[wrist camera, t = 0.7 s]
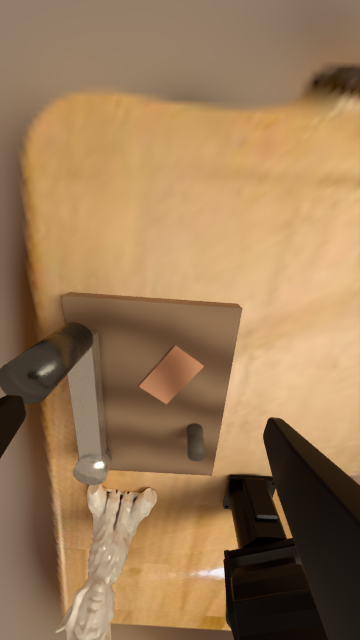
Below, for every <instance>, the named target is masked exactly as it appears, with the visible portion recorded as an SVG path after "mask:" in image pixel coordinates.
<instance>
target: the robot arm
mask: <svg viewBox="0 0 360 640" xmlns="http://www.w3.org/2000/svg"><path fill="white" fill-rule="evenodd" d="M25 416H26V411H25V406H24V401H23V397H22V396H20V395H6V396H4V397H2V398H0V458H1V456H2V455H3V453H4V452H5V450H6V448H7V447H8V445H9V444H10V442H11V440H12V439H13V437H14V436H15V434H16V432H17V431H18V429H19V428H20V426H21V424H22V423H23V421H24V419H25ZM263 440H264V444H265V448H266V452H267V456H268V460H269V464H270V468H271V472H272V476H273V478H268V477H250V476H230V477H229V478H228V483H227V487H226V492H225V496H224V501H223V507H224V508H225V509H231V511H232V516H233V521H234V526H235V532H236V537H237V542H238V548H239V549H236V550H231V551H229V550H225V551H224V557H225V559H224V571H225V587H226V621H227V624H228V626H229V627H230V628H231V630H232V633H233V636H234V640H360V485H359V484H358V483H357V482H355V481H354V480H353V479H352V478H351V477H350V476H348V475H347V474H346V473H345V472H344V471H342V470H341V469H340V468H339V467H338V466H337V465H335V464H334V463H333V462H332V461H331V460H330V459H328V458H327V457H326V456H325V455H324V454H322V453H321V452H320V451H319V450H318V449H317V448H315V447H314V446H313V445H312V444H311V443H310V442H308V441H307V440H306V439H305V438H304V437H302V436H301V435H300V434H299V433H298V432H297V431H295V430H294V429H293V428H292V427H291V426H290V425H288V424H287V423H286V422H285V421H284V420H282V419H281V418H273V417H271V418H269V419H268V421H267V424H266V427H265V430H264V434H263ZM275 489H276V490H277V493H278V496H279V499H280V502H281V505H282V508H283V511H284V514H285V517H286V519H287V522H288V525H289V528H290V531H291V534H292V537H293V538H290V539H287V537H286V535H285V532H284V529H283V526H282V523H281V521H280V518H279V515H278V512H277V510H276V507H275V504H274V501H273V499H272V497H273V494H274V492H275Z"/></svg>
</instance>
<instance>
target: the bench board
mask: <svg viewBox="0 0 360 640" xmlns="http://www.w3.org/2000/svg"><path fill="white" fill-rule="evenodd" d="M61 297H62V305H63V312H64V320H65V325H66V324H68V323H72V322H76V323H80V324H82V325H84V326H86V327H87V328H88V329H89V330H90V331H92V332H98V338H99V352H100V365H101V378H102V392H103V405H104V419H105V432H106V446H107V449H108V450H109V451H110V452H111V454H112V462H111V465H110V468H109V470H120V471H138V472H156V473H174V474H191V475H209V476H212V472H213V467H214V461H215V456H216V450H217V445H218V439H219V434H220V428H221V423H222V417H223V412H224V406H225V401H226V395H227V390H228V384H229V379H230V373H231V367H232V362H233V356H234V351H235V345H236V340H237V334H238V329H239V323H240V318H241V312H242V308H241V307H240V306H239V305H238V304H231V303H217V302H203V301H188V300H174V299H160V298H145V297H131V296H116V295H102V294H88V293H73V292H70V293H67V294H65V295H62V296H61Z"/></svg>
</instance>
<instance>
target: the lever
mask: <svg viewBox="0 0 360 640" xmlns="http://www.w3.org/2000/svg"><path fill="white" fill-rule="evenodd" d="M66 375H68V382H69V389H70V396H71V403H72V410H73V417H74V424H75V431H76V438H77V445H78V452H79V459H78V461H77V463H76V465H75V467H74V469H73V475H74V477H75V478H76V479H77V480H78V481H79V482H81V483H83V484H86V485H98V484H101V483H103V482H104V481H105V479H106V477H107V474H108V471H109V468H110V465H111V462H112V454H111V452H110V451H109V450H108V449H107V446H106V432H105V419H104V405H103V392H102V378H101V365H100V352H99V338H98V332H92V331H90V330H89V329H88V328H87V327H86V326H84V325H82V324H80V323H76V322H72V323H68V324H66V325H64V326H63V327H61V328H59V329H58V330H56V331H55V332H53V333H52V334H50V335H49V336H47V337H46V338H44V339H43V340H41V341H40V342H38V343H37V344H35V345H34V346H32V347H31V348H29V349H28V350H27V351H25V352H23V353H22V354H20V355H19V356H18V357H16V358H14V359H13V360H11V361H10V362H8V363H7V364H5V365H4V366H3V367H2V368H1V369H0V386H1V388H2V389H3V391H4V392H5V393H6V394H7V395H20V396H22V397H23V401H24V403H27V404H33V403H38V402H41V401H43V400H44V399H45V398H46V397H47V396H48V395H49V394H50V393H51V392H52V390H53V389H54V388H55V387H56V386H57V385H58V384H59V383H60V382H61V380H62V379H63V378H64V377H65V376H66Z"/></svg>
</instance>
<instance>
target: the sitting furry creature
mask: <svg viewBox="0 0 360 640" xmlns="http://www.w3.org/2000/svg"><path fill="white" fill-rule="evenodd" d="M106 491H108V492H110V493H106ZM108 495H109V496H108ZM120 495H123V499H121V502H120ZM136 497H137V498H136ZM134 498H136V499H135V500H134ZM87 499H88V502H87V505H88V507H89V509H90V511H91V513H93V514H92V517H93V522H92V523H93V527H94V528H93V538H92V540H93V541H92V544H91V549H90V551H89V559H88V569H89V572H88V577H89V578H88V579H87V581H86V582H85V584H84V585H83V586H82V587H81V588H80V589H79V590H77V591H76V593H75V594H74V600H73V604H72V606H71V607H70V608H69V609H68V611H67V612H66V615H65V617H64V619H63V621H62V623H61V624H60V626H59V627H58V628H57V630H56V631H55V632H56V633H57V632H60V631H62V630H63V629H66V632H67V638H66V640H111V626H110V621H111V620H112V619H113V617H114V610H113V609H114V604H115V602H114V597H115V592H114V591H113V588H112V584H114V583H115V581H116V580H117V578H118V576H119V575H120V574H121V571H122V568H123V566H124V565H125V562H126V560H127V557H128V550H129V547H130V543H131V542H132V538H133V536H134V535H135V533H136V530H137V526H138V525H139V523H140V522H141V521H142V520H143V519H144V518H145V517H147V516H148V515H149V513H150V511H151V509H152V508H153V507H154V505H155V504H156V502H157V494H156V492H155V490H153V489H151V488H147V489H145V491H143V492H142V493H138V492H130V493H129V494H127V491H126V492H125V493H122V492H120V490H118V491H117V493H116V489H108V488H104V487H103V485H102V483H101V484H98V485H89V487H88V490H87Z"/></svg>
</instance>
